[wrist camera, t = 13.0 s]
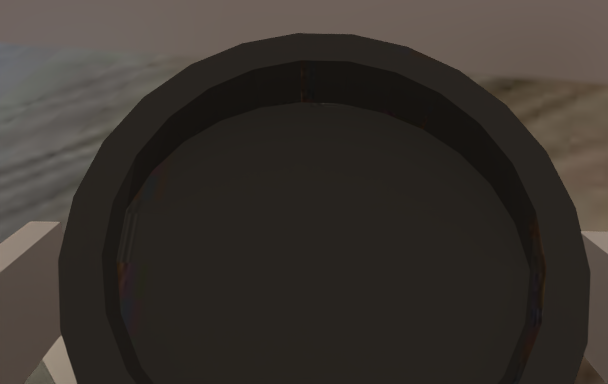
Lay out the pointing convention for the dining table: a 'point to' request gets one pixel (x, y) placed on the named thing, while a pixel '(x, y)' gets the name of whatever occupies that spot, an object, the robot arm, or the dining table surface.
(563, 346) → the coffee cup
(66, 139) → the dining table surface
